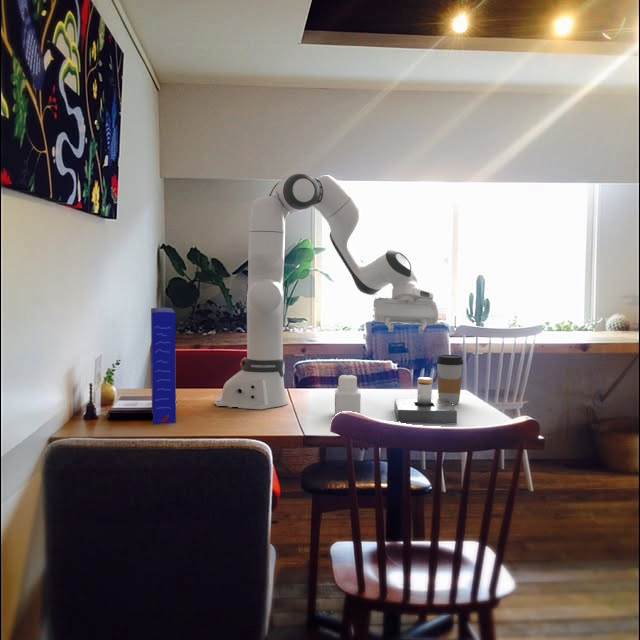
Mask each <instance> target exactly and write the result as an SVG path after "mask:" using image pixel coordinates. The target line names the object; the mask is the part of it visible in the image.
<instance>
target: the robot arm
mask: <svg viewBox="0 0 640 640" xmlns="http://www.w3.org/2000/svg"><path fill="white" fill-rule="evenodd" d="M251 206H252V207H251V210H250V215H249V223H248V247H247V248H248V252H247V256H248V257H247V259H248V266H247V269H248V270H247V271H248V273H247V279H248V281H247V283H248V284H247V292H246V335H247V336H246V346H247V347H246V356H247V357H243V358H242V359H241V361H240V369H241V370H239V371H238V372H236V373H235V374H234V375H233V376H231V377H230V378H229V379H228V380H226V382H225V383H224V385H223V388H222V392H221V396H219V397H217V398H215V400H214V405H215V404H216V405H217V406H216V407H218V406H228V407H227V408H232V407H238V408H237V409H246V410H247V409H249V410H266V409H270V408H271V409H272V408H278V407H283V406H285V405H287V404H288V399H287V395H286V389H285V382H284V376H285V368H286V367H285V358H284V355H283V354H284V353H283V352H284V351H283V350H284V312H285V311H284V310H285V309H284V308H285V306H284V305H285V293H284V273H285V272H284V270H285V269H284V268H285V267H284V266H285V249H286V248H285V245H286V244H285V242H286V241H285V239H286V222H287V221H286V219H287V217H288V215H289V214H292V213H298V212H302V211H305V210H306V209H307V210H308V209H310V208H314V209H315V210H316V211H318V212H319V214H321V216H322V217H323V219H324V220H325V221H326V222H327V224H328V227H329V229H330V233H329V238H330V241H331V244H332V246H333V247H334V249H335V251H336V252H337V254H338V256H339V257H340V259H341V261H342V262H343V264H344V266H345V267H346V269H347V271H348V273H350V275H351V277H352V279H353V280H352V281H353V282H354V284H355V287H357V290H358V291H359V292H361V293H363V294H366V295H369V296H370V295H371V296H373V295H375V294H377V292H379V291H380V290H382V289H383V288H385V287H386V286H388V285H390V284H391V285H392V290H391V291H392V292H391V297H377V298H375V299H373V307H374V315H373V317H374V318H373V319H374V320H375V322H376V323H377V322H378V323H384V325H385V326H386V327H387V328H388V332H389V333H390V332H391V333H393V332H394V329H395V328H394V324H392V323H396V324H413V325H414V324H415V325H418V324H419V326H418V334H424V332H425V329H426V328H427V325H436V324H437V323H438V320H439V310H438V306H437V303H436V301H435V300H434V293H432V292H429V291H426V290H422V289H420V288H419V282H420V281H419V273H418V269H417V266H416V263H415V262H414V261H413V260H412V259H411V258H409V257H406V256H405V255H404V254H403V253H402V252H400V251H397V250H394V249H388V250H386V251H384V252H383V253H381V254H379V255H377V256H376V257H375V258H374V259H372V260H371V261H369V262H367V263H363V262H362V261H361V260H360V258H359V256H358V255H357V253H356V251H355V250H354V248H353V247H352V245H351V238H352V236H353V235H354V233H355V232H356V230H357V228H358V226H359V224H360V222H361V218H362V211H361V207H360V205H359V204H358V202H357V200H356V199H355V198H354V197H353V196H352V195H351V193H349V191H348V190H347V189H346V188H345V187H344V186H343V185H342V184H341V183H340V182H338V180H336V179H335V178H334V177H333V176H331V175H328V174H327V175H326V174H325V175H320V176H318V177H317V178H316V177H312V176H309V175H307V174H304V173H295V174H294V173H293V174H292V175H288V176H285V177H284V178H282V179H281V180H279V181H278V182H277V183H276V184H274V186H273V188H272V189H271V191H270V193H269V195H262V196H259V197H258V198H256V199H255V200H254V201H253V202H252V205H251Z"/></svg>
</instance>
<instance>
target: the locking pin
mask: <svg viewBox="0 0 640 640" xmlns="http://www.w3.org/2000/svg"><path fill="white" fill-rule="evenodd" d="M432 386H433V378H432V377H426V376H424V377H421V376H420V377H417V393H416V396H417V398H416V399H417V406H430V407H431V399H432V395H433V394H432V392H433V391H432V389H433V387H432Z"/></svg>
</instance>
